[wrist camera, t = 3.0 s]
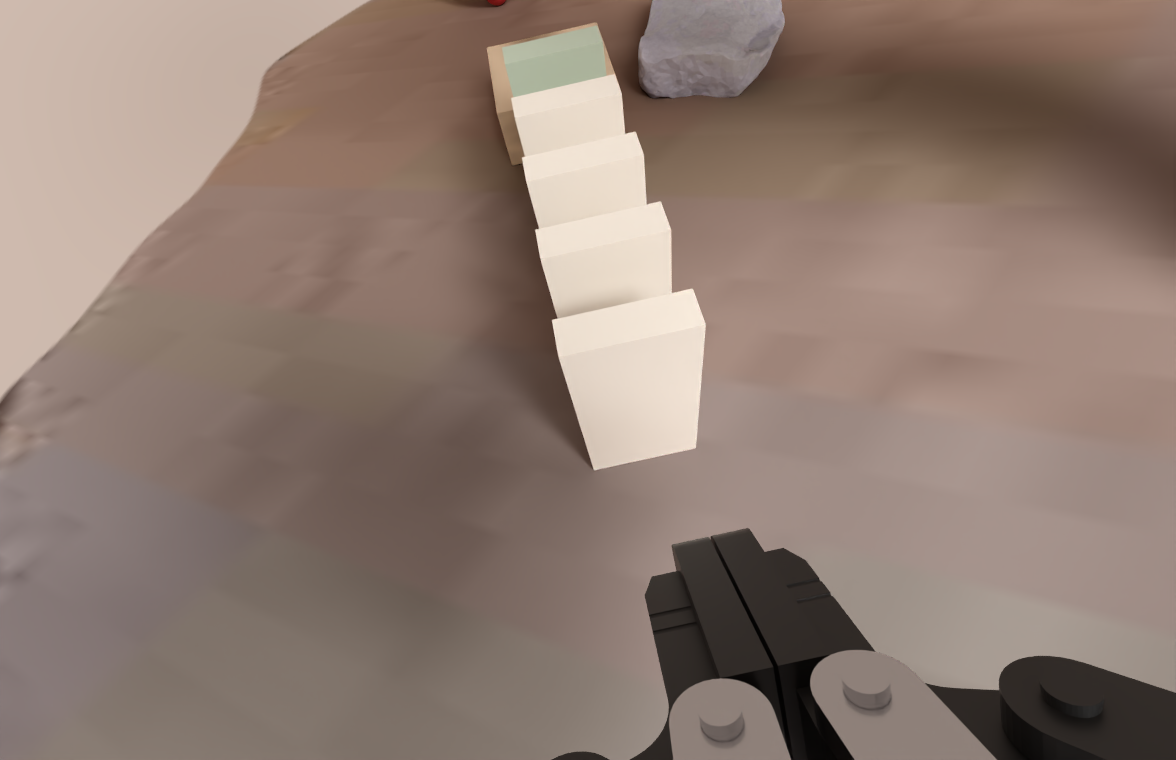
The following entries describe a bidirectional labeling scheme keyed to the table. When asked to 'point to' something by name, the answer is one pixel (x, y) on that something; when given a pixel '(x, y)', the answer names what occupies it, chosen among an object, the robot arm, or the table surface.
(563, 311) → the domino
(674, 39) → the stone block
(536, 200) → the domino
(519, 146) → the stop block
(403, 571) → the table surface
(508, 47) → the domino
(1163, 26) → the table surface
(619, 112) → the domino
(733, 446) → the table surface
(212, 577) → the table surface
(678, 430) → the domino
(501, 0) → the strawberry
